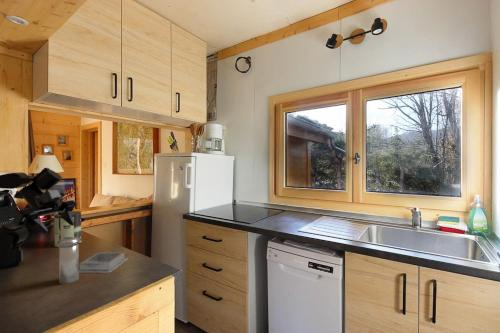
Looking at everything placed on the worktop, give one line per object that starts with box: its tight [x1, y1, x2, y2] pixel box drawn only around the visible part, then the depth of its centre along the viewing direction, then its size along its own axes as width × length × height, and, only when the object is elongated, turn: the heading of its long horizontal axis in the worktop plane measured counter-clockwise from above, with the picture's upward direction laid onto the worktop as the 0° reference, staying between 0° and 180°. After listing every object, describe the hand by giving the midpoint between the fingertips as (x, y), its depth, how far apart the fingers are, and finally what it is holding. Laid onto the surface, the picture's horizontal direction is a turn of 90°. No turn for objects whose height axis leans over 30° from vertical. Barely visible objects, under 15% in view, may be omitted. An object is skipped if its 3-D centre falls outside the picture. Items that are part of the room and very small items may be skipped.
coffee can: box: [53, 210, 82, 248], centre depth 114 cm, size 10×10×14 cm
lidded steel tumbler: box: [57, 237, 80, 285], centre depth 78 cm, size 6×6×13 cm
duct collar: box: [79, 252, 129, 274], centre depth 90 cm, size 12×12×3 cm
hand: (60, 228), depth 89 cm, fingers open, 9 cm apart
